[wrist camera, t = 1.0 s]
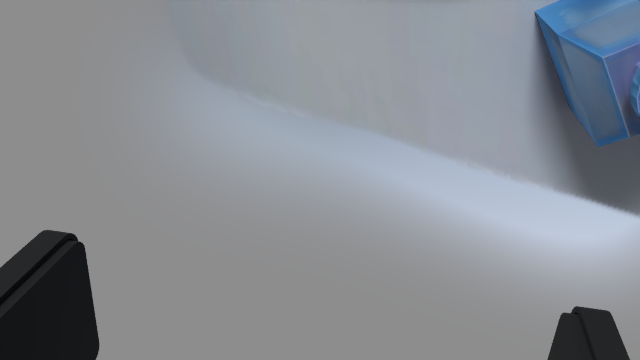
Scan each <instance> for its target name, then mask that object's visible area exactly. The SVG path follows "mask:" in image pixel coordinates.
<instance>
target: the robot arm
mask: <svg viewBox="0 0 640 360" xmlns="http://www.w3.org/2000/svg"><path fill="white" fill-rule="evenodd" d="M98 351H99V338H98V331H97V326H96V318H95V311H94V305H93V299H92V292H91V285H90V279H89V272H88V265H87V259H86V252H85V247H84V245H83V243H81V242H78V239H77V237H76V236H75V235H74V234H72V233H65V232H59V231H52V230H44V231H42V232H41V233H39V234H38V235H37V236H36V237H35V238H34V239H33V240H31V241H30V242H29V243H28V244H27V245H26V246H25V247H23V248H22V249H21V250H20V251H19V252H18V253H17V254H15V255H14V256H13V257H12V258H11V259H10V260H9V261H7V262H6V263H5V264H4V265H3V266H2V267H1V268H0V360H96V357H97V355H98ZM548 360H630V359H629V356H628V354H627V352H626V349H625V346H624V344H623V342H622V339H621V337H620V334H619V332H618V329H617V327H616V324H615V322H614V319H613V317H612V315H611V313H610V312H609V311H605V310H598V309H592V308H584V307H577V306H576V307H574V309H573V310H572V312H571V313H562V315H561V317H560V319H559V322H558V326H557V329H556V333H555V336H554V339H553V343H552V346H551V350H550V353H549V356H548Z"/></svg>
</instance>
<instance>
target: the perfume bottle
mask: <svg viewBox="0 0 640 360" xmlns="http://www.w3.org/2000/svg"><path fill="white" fill-rule="evenodd" d="M535 13H536V16H537V19H538V22H539V24H540V27H541V30H542V33H543V35H544V38H545V41H546V44H547V46H548V49H549V52H550V55H551V57H552V60H553V63H554V66H555V68H556V71H557V74H558V77H559V79H560V82H561V85H562V88H563V90H564V93H565V96H566V99H567V101H568V104H569V107H570V109H571V110H572V112H573V113H574V115H575V116H576V118H577V119H578V120H579V122H580V123H581V125H582V126H583V127H584V129H585V130H586V132H587V133H588V135H589V136H590V137H591V139H592V140H593V142H594V143H595V145H596V146H597V147H599V146H603V145H606V144H609V143H613V142H616V141H619V140H623V139H626V138H630V137H632V136H635V135H638V134H640V0H559V1H557V2H555V3H552V4H550V5H548V6H546V7H543V8H541V9H539V10H537V11H535Z"/></svg>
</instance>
